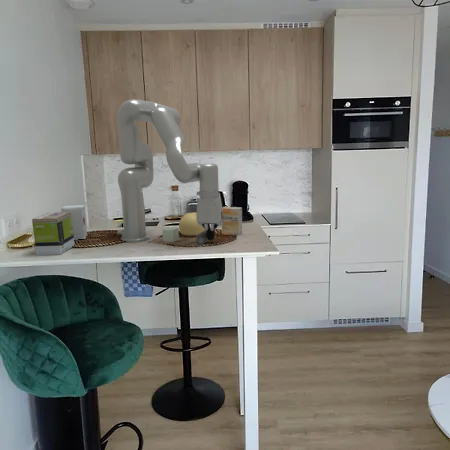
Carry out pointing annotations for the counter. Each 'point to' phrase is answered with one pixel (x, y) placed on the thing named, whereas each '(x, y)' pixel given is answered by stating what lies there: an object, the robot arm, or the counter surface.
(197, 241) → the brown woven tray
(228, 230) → the supplement box
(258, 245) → the counter surface
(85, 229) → the supplement box
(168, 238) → the sage block
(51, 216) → the tea box
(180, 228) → the sculpture
